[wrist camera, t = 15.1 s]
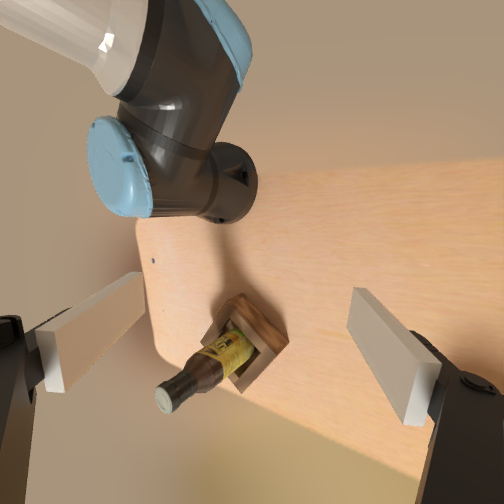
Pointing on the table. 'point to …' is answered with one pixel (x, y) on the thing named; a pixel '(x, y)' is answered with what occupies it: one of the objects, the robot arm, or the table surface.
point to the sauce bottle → (205, 369)
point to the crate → (255, 329)
